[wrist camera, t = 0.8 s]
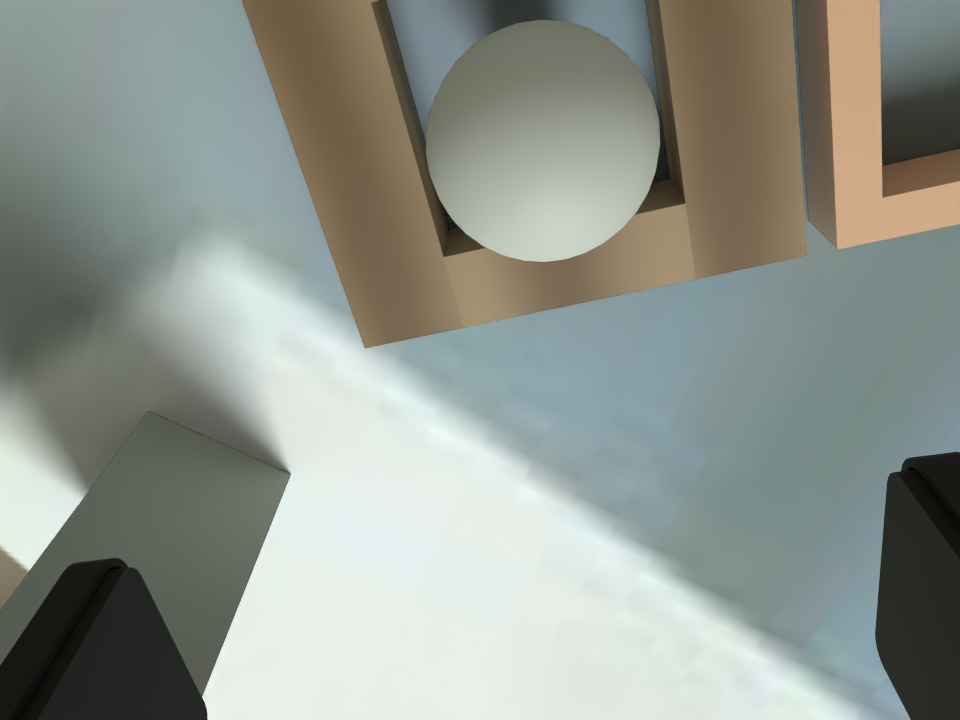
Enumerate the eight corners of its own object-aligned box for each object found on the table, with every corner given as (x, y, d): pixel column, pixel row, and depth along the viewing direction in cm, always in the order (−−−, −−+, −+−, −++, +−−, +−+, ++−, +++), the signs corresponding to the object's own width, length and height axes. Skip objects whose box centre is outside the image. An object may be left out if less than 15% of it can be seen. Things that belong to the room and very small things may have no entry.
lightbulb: (582, -39, 26) (625, -17, 17) (646, 134, 29) (714, 240, 19) (416, 45, 28) (366, 111, 18) (491, 203, 30) (482, 334, 21)
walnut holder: (748, -213, 24) (777, -230, 21) (781, 226, 30) (807, 255, 28) (247, -67, 26) (218, -66, 24) (376, 314, 33) (364, 348, 30)
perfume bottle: (148, 411, 35) (-148, 807, 19) (290, 474, 37) (123, 893, 21) (105, 516, 38) (-183, 935, 22) (238, 570, 39) (56, 1003, 24)
